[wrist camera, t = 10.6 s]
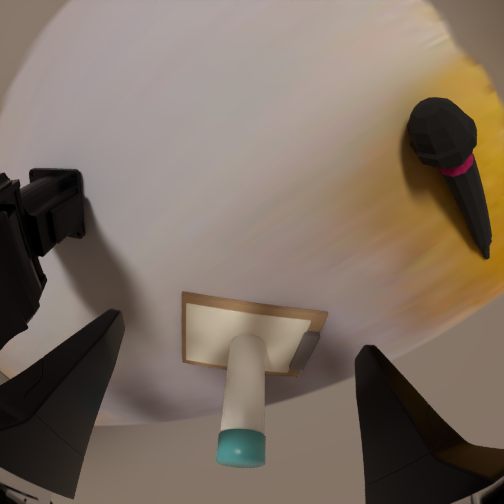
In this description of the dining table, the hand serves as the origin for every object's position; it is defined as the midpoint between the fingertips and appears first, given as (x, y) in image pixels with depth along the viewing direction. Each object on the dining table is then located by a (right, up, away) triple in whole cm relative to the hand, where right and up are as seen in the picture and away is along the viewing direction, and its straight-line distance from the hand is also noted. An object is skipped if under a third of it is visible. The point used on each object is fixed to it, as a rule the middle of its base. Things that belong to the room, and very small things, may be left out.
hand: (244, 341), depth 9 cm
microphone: (+18, +8, +10) cm, 23 cm away
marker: (0, -7, +18) cm, 20 cm away
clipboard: (0, -6, +19) cm, 20 cm away
